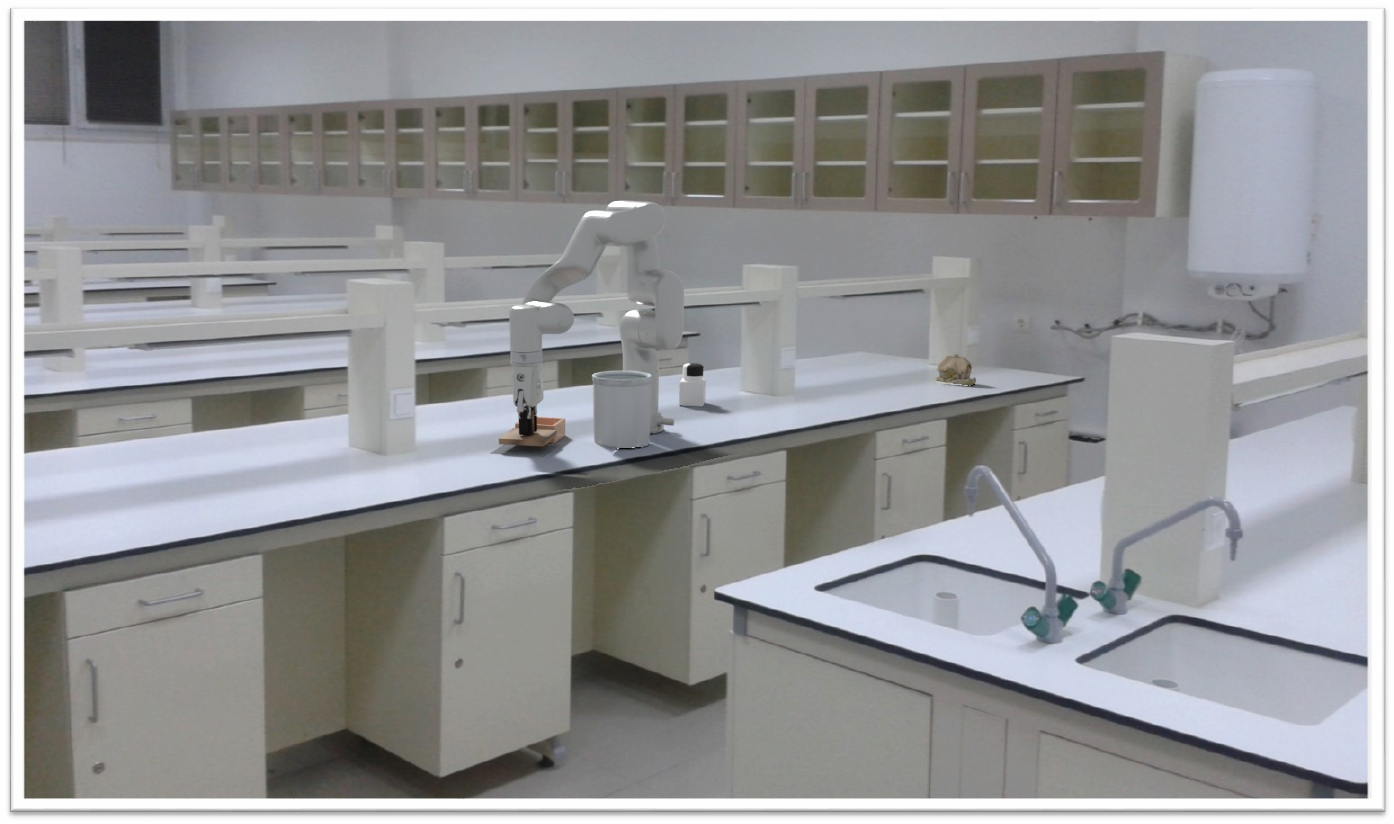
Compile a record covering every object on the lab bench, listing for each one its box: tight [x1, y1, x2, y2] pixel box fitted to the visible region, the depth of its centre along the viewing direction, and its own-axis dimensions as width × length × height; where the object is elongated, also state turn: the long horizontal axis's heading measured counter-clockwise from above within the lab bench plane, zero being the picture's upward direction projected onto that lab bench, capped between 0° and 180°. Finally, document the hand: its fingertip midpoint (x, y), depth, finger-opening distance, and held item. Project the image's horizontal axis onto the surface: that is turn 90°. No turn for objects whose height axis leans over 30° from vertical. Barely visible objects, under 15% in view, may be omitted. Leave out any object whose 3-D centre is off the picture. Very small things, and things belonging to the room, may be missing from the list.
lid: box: [498, 410, 557, 446], centre depth 302 cm, size 11×11×7 cm
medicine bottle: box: [678, 362, 707, 408], centre depth 370 cm, size 7×7×12 cm
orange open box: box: [514, 416, 566, 445], centre depth 315 cm, size 10×10×5 cm
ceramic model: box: [934, 353, 977, 385], centre depth 422 cm, size 14×11×10 cm
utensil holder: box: [591, 370, 652, 448], centre depth 313 cm, size 15×15×18 cm
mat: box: [490, 444, 559, 458], centre depth 303 cm, size 13×13×1 cm
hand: (528, 432), depth 303 cm, fingers closed on lid, 3 cm apart
